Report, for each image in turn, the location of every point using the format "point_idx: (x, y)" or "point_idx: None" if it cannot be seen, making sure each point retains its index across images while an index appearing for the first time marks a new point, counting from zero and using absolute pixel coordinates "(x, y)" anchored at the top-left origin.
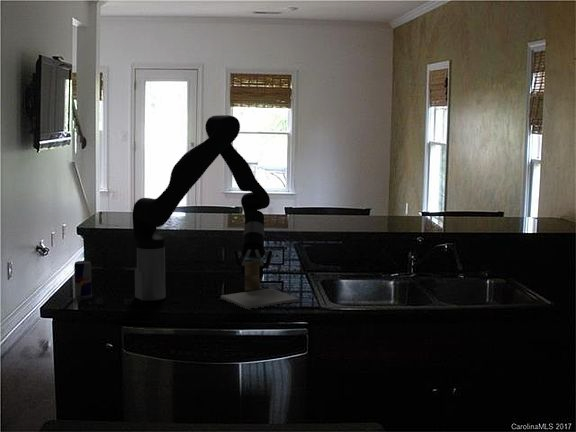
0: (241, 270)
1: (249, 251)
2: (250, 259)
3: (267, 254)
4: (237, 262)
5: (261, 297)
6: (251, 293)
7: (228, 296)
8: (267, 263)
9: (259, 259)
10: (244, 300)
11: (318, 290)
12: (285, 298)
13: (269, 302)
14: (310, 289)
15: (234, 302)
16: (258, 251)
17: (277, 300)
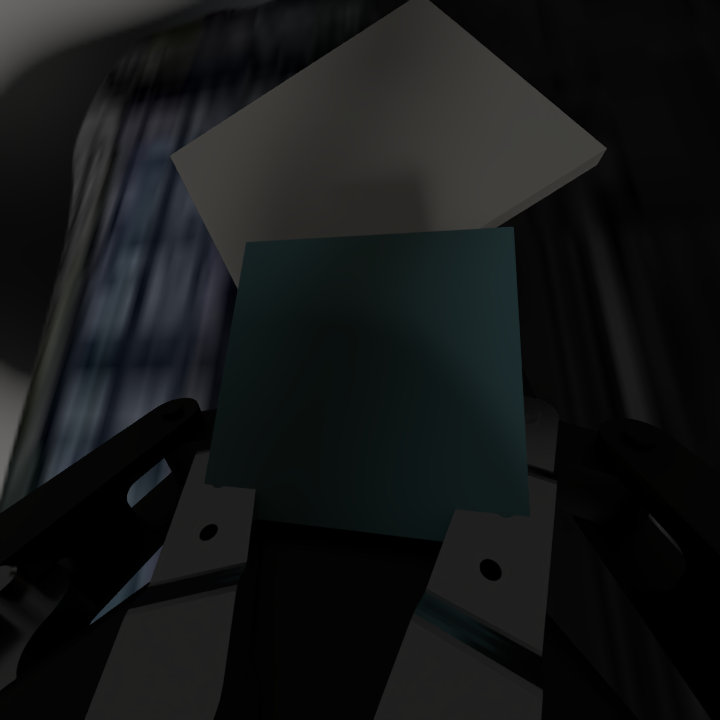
0: (524, 379)
1: (435, 706)
2: (398, 236)
3: (5, 567)
4: (660, 445)
5: (346, 145)
6: (403, 219)
7: (546, 137)
8: (168, 404)
9: (241, 314)
10: (438, 78)
11: (35, 385)
12: (230, 146)
13: (313, 70)
14: (64, 409)
15: (492, 61)
16: (119, 651)
17: (272, 107)
